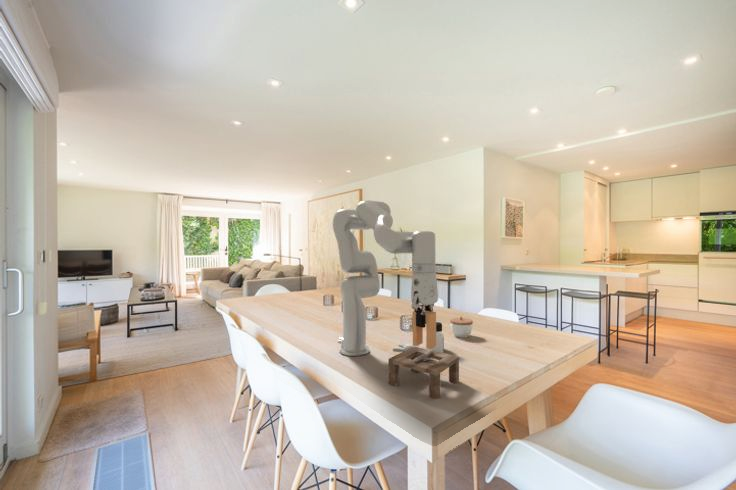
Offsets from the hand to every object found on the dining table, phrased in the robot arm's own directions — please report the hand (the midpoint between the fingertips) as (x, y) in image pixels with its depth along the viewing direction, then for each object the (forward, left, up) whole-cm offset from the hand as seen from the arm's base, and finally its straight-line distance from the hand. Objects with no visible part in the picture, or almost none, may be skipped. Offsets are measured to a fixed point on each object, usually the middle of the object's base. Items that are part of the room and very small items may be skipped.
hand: (424, 324), depth 105 cm
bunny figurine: (-15, +18, -19) cm, 30 cm away
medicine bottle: (-12, +31, -19) cm, 38 cm away
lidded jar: (-12, +59, -19) cm, 63 cm away
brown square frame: (0, 0, -19) cm, 19 cm away
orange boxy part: (0, 0, -7) cm, 7 cm away
